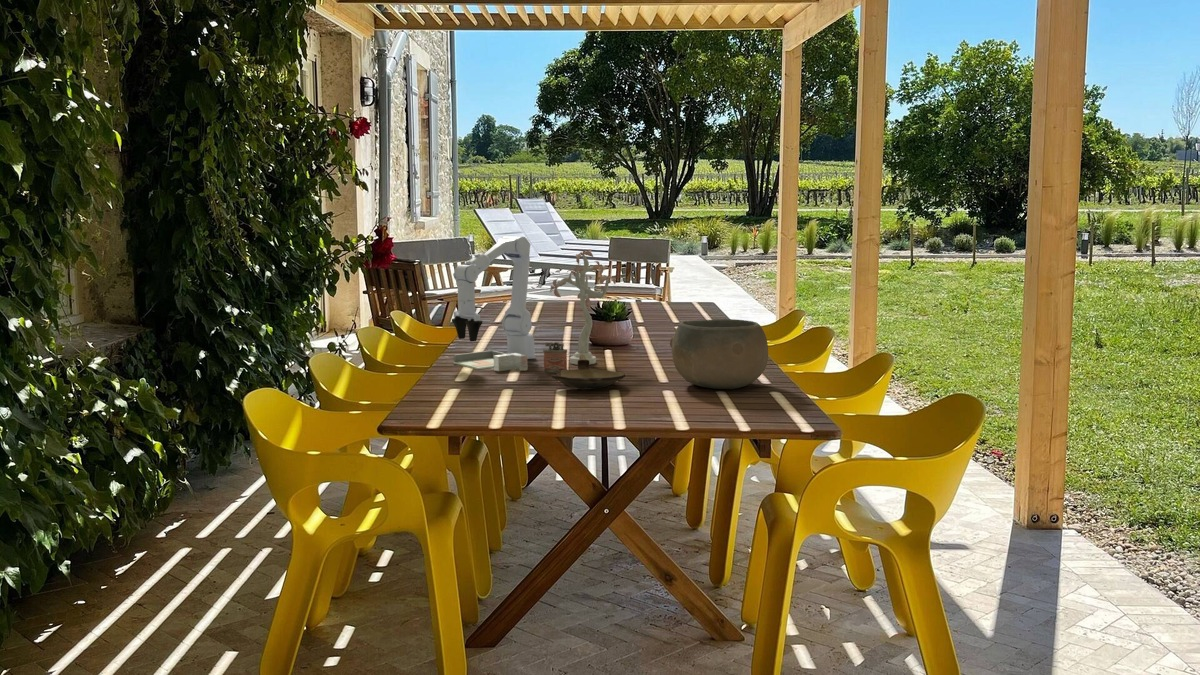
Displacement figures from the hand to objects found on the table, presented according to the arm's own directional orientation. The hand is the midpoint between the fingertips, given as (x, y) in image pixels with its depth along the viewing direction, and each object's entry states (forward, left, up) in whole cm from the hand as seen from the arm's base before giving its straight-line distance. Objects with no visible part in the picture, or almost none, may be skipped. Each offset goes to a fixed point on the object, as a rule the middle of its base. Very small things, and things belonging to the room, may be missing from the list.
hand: (467, 339), depth 340 cm
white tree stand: (-38, +16, -10) cm, 42 cm away
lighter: (-19, +25, -10) cm, 33 cm away
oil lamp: (-12, +53, -10) cm, 55 cm away
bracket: (-9, +13, -10) cm, 18 cm away
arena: (-9, -3, -10) cm, 14 cm away
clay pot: (-42, +79, -10) cm, 90 cm away
